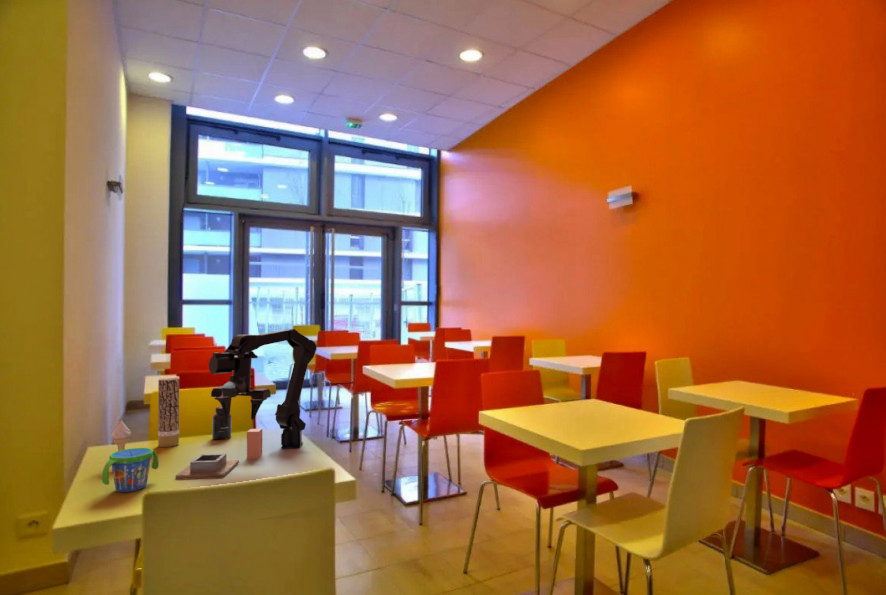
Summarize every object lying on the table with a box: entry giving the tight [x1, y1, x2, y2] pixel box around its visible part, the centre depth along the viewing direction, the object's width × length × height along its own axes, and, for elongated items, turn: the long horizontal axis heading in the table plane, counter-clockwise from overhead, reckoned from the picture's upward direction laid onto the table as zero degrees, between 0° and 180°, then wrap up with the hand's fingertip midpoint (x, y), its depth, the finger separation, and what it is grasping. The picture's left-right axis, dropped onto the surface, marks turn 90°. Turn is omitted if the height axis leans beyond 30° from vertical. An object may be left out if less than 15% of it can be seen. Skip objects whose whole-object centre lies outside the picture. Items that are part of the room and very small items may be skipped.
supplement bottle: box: [211, 405, 233, 441], centre depth 198 cm, size 7×7×12 cm
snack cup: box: [101, 447, 160, 493], centre depth 144 cm, size 16×10×10 cm
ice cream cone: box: [110, 419, 132, 451], centre depth 164 cm, size 6×6×15 cm
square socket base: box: [175, 453, 240, 480], centre depth 159 cm, size 14×14×4 cm
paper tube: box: [157, 375, 180, 448], centre depth 188 cm, size 7×7×25 cm
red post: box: [246, 428, 263, 459], centre depth 174 cm, size 4×4×9 cm
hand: (239, 418), depth 171 cm, fingers open, 9 cm apart
